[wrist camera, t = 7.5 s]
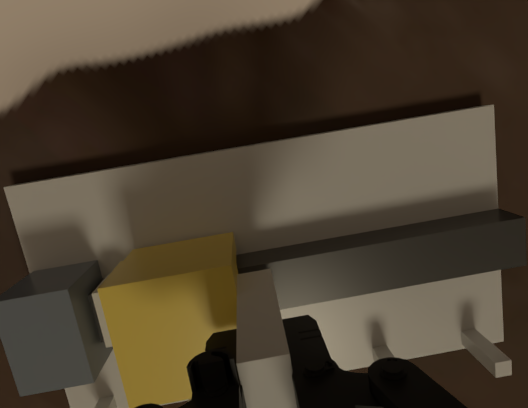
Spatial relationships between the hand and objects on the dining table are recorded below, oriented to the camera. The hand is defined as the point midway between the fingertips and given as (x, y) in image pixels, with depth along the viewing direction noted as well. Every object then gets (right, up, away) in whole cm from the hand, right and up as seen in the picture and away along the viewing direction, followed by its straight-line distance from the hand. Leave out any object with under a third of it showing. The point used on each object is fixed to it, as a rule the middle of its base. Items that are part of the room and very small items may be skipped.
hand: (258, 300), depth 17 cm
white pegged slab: (+1, +1, +4) cm, 4 cm away
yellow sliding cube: (-3, 0, +3) cm, 4 cm away
